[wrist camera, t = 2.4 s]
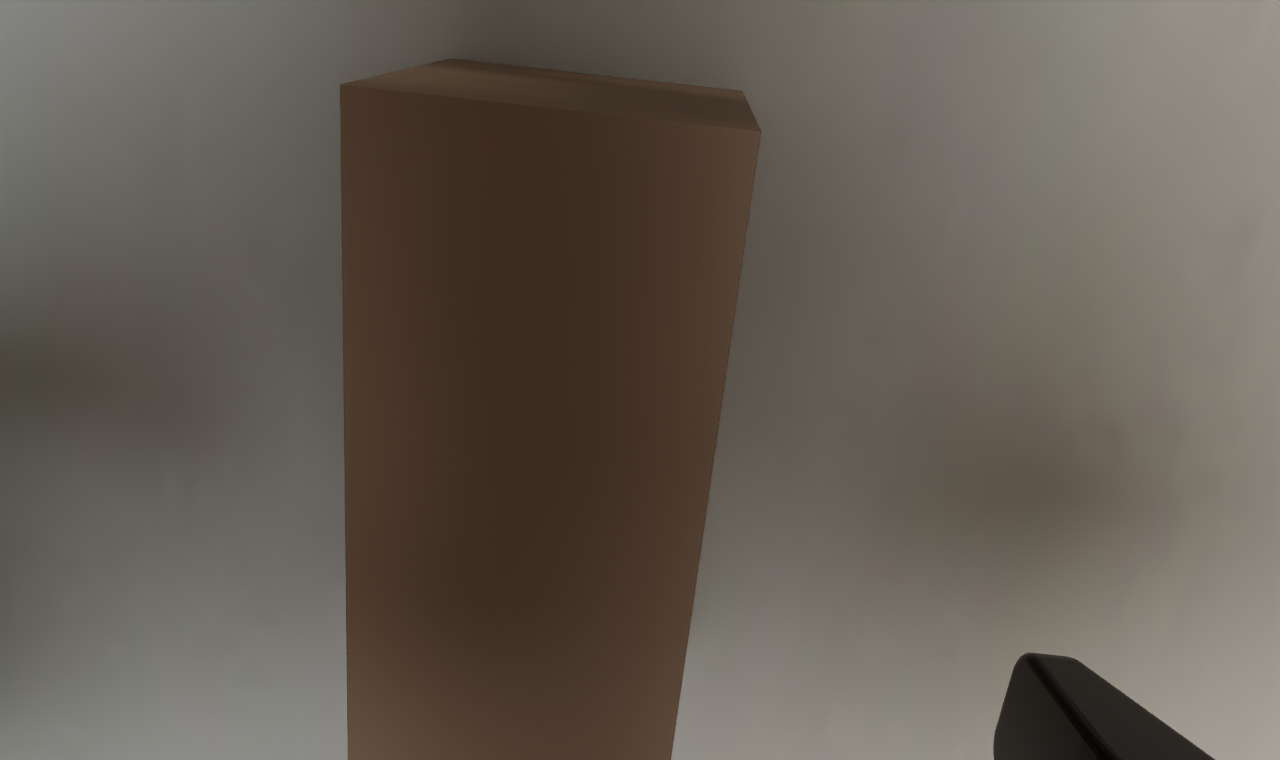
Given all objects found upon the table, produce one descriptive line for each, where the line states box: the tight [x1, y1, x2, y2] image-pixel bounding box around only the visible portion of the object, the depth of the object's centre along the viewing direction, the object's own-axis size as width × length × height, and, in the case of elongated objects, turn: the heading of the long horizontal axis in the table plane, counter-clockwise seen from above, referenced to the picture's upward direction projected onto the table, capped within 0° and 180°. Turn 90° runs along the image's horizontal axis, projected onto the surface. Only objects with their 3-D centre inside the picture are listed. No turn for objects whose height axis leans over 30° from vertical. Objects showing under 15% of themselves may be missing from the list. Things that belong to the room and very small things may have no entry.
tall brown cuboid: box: [340, 59, 761, 760], centre depth 11 cm, size 4×8×4 cm, turn 174°
